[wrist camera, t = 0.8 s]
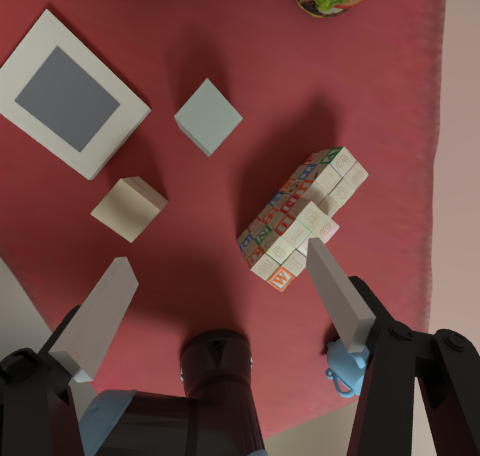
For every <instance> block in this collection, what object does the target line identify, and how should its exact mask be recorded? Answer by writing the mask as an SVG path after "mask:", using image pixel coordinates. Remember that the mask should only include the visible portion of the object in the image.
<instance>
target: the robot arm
mask: <svg viewBox="0 0 480 456" xmlns="http://www.w3.org/2000/svg"><path fill="white" fill-rule="evenodd" d="M306 269H307V271H308V273H309V275H310V277H311V279H312V281H313V284H314V286H315V288H316V290H317V292H318V294H319V296H320V298H321V300H322V302H323V304H324V306H325V308H326V310H327V312H328V314H329V316H330V318H331V320H332V322H333V324H334V326H335V328H336V330H337V332H338V334H339V336H340V338H341V340H342V342H343V344H344V346H345V348H346V350H347V352H348V353H353V352H362V351H363V349H364V346H365V345H366V347H367V349H368V351H369V352H370V353H369V355H368V358H367V360H366V362H365V364H366V369H365V373H364V378H363V383H362V387H361V392H360V396H359V401H358V405H357V410H356V414H355V419H354V424H353V428H352V433H351V437H350V442H349V446H348V451H347V456H411V449H412V427H413V404H414V381H415V377H417V378H418V382H419V386H420V390H421V394H422V398H423V402H424V406H425V410H426V414H427V418H428V422H429V425H430V430H431V433H432V437H433V441H434V445H435V449H436V453H437V456H480V356H479V354H478V352H477V351H476V348H475V347H474V346H473V344H472V343H471V342H470V341H469V340H468V339H466V338H465V337H464V336H462V335H461V334H459V333H457V332H455V331H452V330H449V329H440V330H437V332H436V333H435V334H434V335H432V334H427V333H422V332H416V331H413V330H411V329H410V328H409V327H408V326H406V325H405V324H403V323H401V322H399V321H395V320H394V318H393V317H392V316H391V315H390V314H389V312H388V311H387V310H386V308H385V307H384V306H383V305H382V303H381V302H380V301H379V300H378V298H377V297H376V296H375V294H374V293H373V292H372V291H371V290H370V288H369V287H368V286H367V284H366V283H365V282H364V281H363V280H361V279H360V278H358V277H357V276H351V277H347V276H346V274H345V273H344V272H343V270H342V269H341V267H340V266H339V265H338V263H337V262H336V260H335V259H334V258H333V256H332V255H331V253H330V252H329V250H328V249H327V248H326V246H325V245H324V243H323V242H322V241H321V239H320V238H319V237H316V238H309V239H308V248H307V258H306ZM138 285H139V284H138V281H137V279H136V277H135V275H134V273H133V270H132V268H131V266H130V264H129V262H128V259H127V257H117V258H115V259H114V260H113V262H112V263H111V265H110V266H109V267H108V269H107V270H106V272H105V273H104V274H103V276H102V277H101V279H100V280H99V282H98V283H97V284H96V286H95V287H94V289H93V290H92V291H91V293H90V294H89V296H88V297H87V298H86V300H85V301H84V303H83V304H82V305H77V306H76V307H75V308H73V309H72V310H71V311H70V312H69V313H68V314H67V315H66V316H65V318H64V319H63V320H62V323H60V324H59V326H58V327H57V328H56V331H54V332H53V334H52V335H51V337H50V338H49V340H48V341H47V342H46V343H45V345H44V346H43V347H42V349H41V350H40V351H39V353H38V354H36V353H35V352H34V351H33V350H32V349H30V348H23V349H19V350H17V351H15V352H13V353H11V354H10V355H8V356H7V357H5V358H4V359H3V360H2V361H1V362H0V456H268V454H267V452H266V450H265V446H264V443H263V438H262V434H261V429H260V425H259V421H258V417H257V413H256V408H255V404H254V400H253V396H252V391H251V387H250V386H251V369H252V355H251V351H250V347H249V345H248V343H247V341H246V340H245V339H244V338H243V337H242V336H241V335H239V334H238V333H235V332H233V331H229V330H213V331H209V332H206V333H203V334H201V335H199V336H197V337H196V338H194V339H193V340H192V341H191V342H190V343H189V344H188V345H187V346H186V348H185V349H184V351H183V353H182V357H181V364H180V376H181V379H182V382H183V384H184V390H185V394H186V397H179V396H171V395H164V394H156V393H148V392H140V391H137V390H135V389H133V390H131V391H128V390H114V389H110V390H105V391H103V392H101V393H100V394H98V395H97V396H96V397H95V398H94V399H93V400H92V402H91V403H90V405H89V406H88V408H87V409H86V411H85V413H84V414H83V416H82V418H81V419H80V421H79V422H78V421H77V416H76V411H75V406H74V402H73V396H72V392H71V388H70V386H69V385H68V383H69V381H70V380H71V378H72V377H73V378H74V379H75V380H76V381H77V382H86V381H93V380H94V378H95V375H96V373H97V371H98V369H99V367H100V365H101V363H102V361H103V359H104V356H105V354H106V352H107V350H108V348H109V346H110V344H111V342H112V340H113V338H114V335H115V333H116V331H117V329H118V327H119V325H120V323H121V321H122V319H123V316H124V314H125V312H126V310H127V308H128V306H129V304H130V302H131V300H132V298H133V295H134V293H135V291H136V289H137V287H138Z"/></svg>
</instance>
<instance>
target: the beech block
mask: <svg viewBox="0 0 480 456" xmlns="http://www.w3.org/2000/svg"><path fill="white" fill-rule="evenodd" d="M168 202H169V201H168V200H166V199H165V198H164V197H163V196H162V195H160V194H159V193H158V192H157V191H156V190H154V189H153V188H152V187H151V186H150V185H148V184H147V183H146V182H145V181H144V180H142V179H141V178H140V177H139V176H138V177H130V178H122V179H120V180H119V181H118V182H117V183H116V185H115V186H114V187H113V188H112V189H111V190H110V192H109V193H108V194H107V195H106V196H105V197H104V198H103V200H102V201H101V202H100V203H99V204H98V205H97V207H96V208H95V209H94V210H93V211H92V212H91V215H92V216H94V217H95V218H97V219H98V220H99V221H101V222H102V223H104V224H105V225H107V226H108V227H109V228H111V229H112V230H114V231H115V232H116V233H118V234H119V235H121V236H122V237H124V238H125V239H126V240H128V241H129V242H131V243H132V242H133V241H134V240H135V239H136V238H137V237H138V235H139V234H140V233H141V232H142V231H143V230H144V229H145V228H146V227H147V226H148V225H149V223H150V222H151V221H152V220H153V219H154V218H155V217H156V216H157V215H158V213H159V212H160V211H161V210H162V209H163V208H164V207H165V206H166V204H167V203H168Z"/></svg>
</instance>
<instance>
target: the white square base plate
mask: <svg viewBox="0 0 480 456" xmlns="http://www.w3.org/2000/svg"><path fill="white" fill-rule="evenodd" d="M151 111H152V110H151V109H150V108H149V107H148V106H147V105H146V104H145V103H144V102H143V101H142V100H141V99H140V98H139V97H138V96H137V95H136V94H134V93H133V92H132V91H131V90H130V89H129V88H128V87H127V86H126V85H125V84H124V83H123V82H122V81H121V80H120V79H119V78H118V77H117V76H116V75H115V74H114V73H113V72H112V71H111V70H110V69H109V68H108V67H107V66H105V65H104V64H103V63H102V62H101V61H100V60H99V59H98V58H97V57H96V56H95V55H94V54H93V53H92V52H91V51H90V50H89V49H88V48H87V47H86V46H85V45H84V44H83V43H82V42H81V41H80V40H79V39H77V38H76V37H75V36H74V35H73V34H72V33H71V32H70V31H69V30H68V29H67V28H66V27H65V26H64V25H63V24H62V23H61V22H60V21H59V20H58V19H57V18H56V17H55V16H54V15H53V14H52V13H51V12H50V11H48V10H47V9H46V10H45V11H44V13H43V14H42V15H41V17H40V18H39V19H38V21H37V22H36V23H35V25H34V26H33V27H32V28H31V30H30V31H29V32H28V34H27V35H26V36H25V38H24V39H23V40H22V42H21V43H20V44H19V45H18V47H17V48H16V49H15V51H14V52H13V53H12V55H11V56H10V57H9V59H8V60H7V61H6V62H5V64H4V65H3V66H2V68H1V69H0V113H1V114H2V115H3V116H5V117H6V118H7V119H9V120H10V121H11V122H13V123H14V124H15V125H17V126H18V127H19V128H21V129H22V130H23V131H24V132H26V133H27V134H28V135H30V136H31V137H32V138H34V139H35V140H36V141H38V142H39V143H40V144H42V145H43V146H44V147H46V148H47V149H48V150H50V151H51V152H52V153H54V154H55V155H56V156H58V157H59V158H60V159H61V160H63V161H64V162H65V163H67V164H68V165H69V166H71V167H72V168H73V169H75V170H76V171H77V172H79V173H80V174H81V175H83V176H84V177H85V178H87V179H88V180H93V179H94V178H95V176H96V175H97V174H98V173H99V172H100V171H101V169H102V168H103V167H104V166H105V165H106V164H107V162H108V161H109V160H110V159H111V158H112V156H113V155H114V154H115V153H116V152H117V151H118V149H119V148H120V147H121V146H122V145H123V144H124V142H125V141H126V140H127V139H128V138H129V136H130V135H131V134H132V133H133V132H134V131H135V129H136V128H137V127H138V126H139V125H140V124H141V122H142V121H143V120H144V119H145V118H146V116H147V115H148V114H149V113H150V112H151Z"/></svg>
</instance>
